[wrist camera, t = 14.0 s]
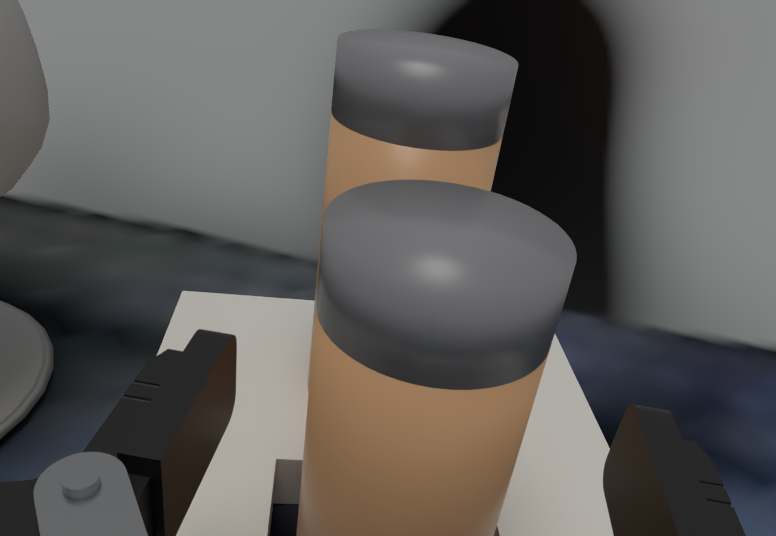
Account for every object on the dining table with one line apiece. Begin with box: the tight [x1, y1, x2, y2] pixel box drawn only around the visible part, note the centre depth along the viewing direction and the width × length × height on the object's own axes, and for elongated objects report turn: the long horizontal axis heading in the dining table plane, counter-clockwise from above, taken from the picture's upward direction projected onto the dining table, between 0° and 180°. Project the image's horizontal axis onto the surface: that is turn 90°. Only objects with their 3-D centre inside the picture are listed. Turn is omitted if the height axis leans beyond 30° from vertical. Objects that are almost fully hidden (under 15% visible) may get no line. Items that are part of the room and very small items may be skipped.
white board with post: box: [157, 29, 614, 536], centre depth 19 cm, size 16×18×14 cm
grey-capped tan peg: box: [296, 180, 577, 536], centre depth 16 cm, size 5×5×12 cm
